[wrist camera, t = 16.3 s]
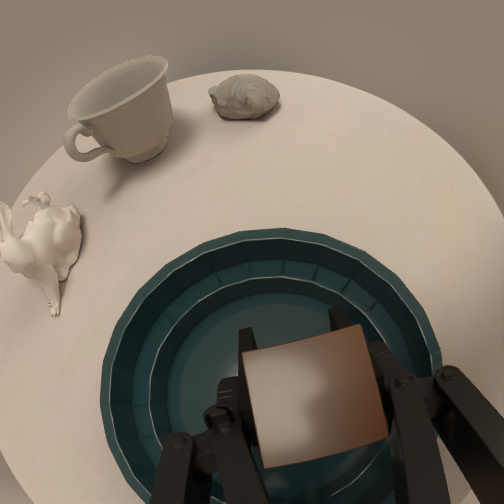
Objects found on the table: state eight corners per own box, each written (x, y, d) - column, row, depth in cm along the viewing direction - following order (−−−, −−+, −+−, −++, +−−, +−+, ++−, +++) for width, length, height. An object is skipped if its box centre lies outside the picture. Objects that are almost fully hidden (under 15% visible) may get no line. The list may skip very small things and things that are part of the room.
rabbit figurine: (58, 319, 24) (-14, 278, 16) (19, 303, 26) (-42, 265, 17) (99, 215, 30) (50, 156, 21) (57, 214, 31) (11, 164, 23)
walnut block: (331, 360, 19) (360, 322, 10) (345, 421, 17) (389, 437, 8) (266, 375, 19) (240, 352, 10) (279, 437, 17) (263, 469, 8)
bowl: (442, 329, 19) (480, 303, 14) (322, 552, 12) (329, 590, 7) (227, 234, 26) (209, 190, 21) (105, 426, 19) (57, 425, 14)
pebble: (211, 131, 33) (201, 97, 29) (214, 97, 37) (205, 67, 33) (284, 120, 33) (281, 85, 28) (276, 87, 36) (272, 57, 32)
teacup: (76, 195, 32) (31, 140, 23) (138, 116, 38) (112, 61, 29) (146, 212, 29) (98, 140, 20) (209, 118, 35) (188, 50, 26)
